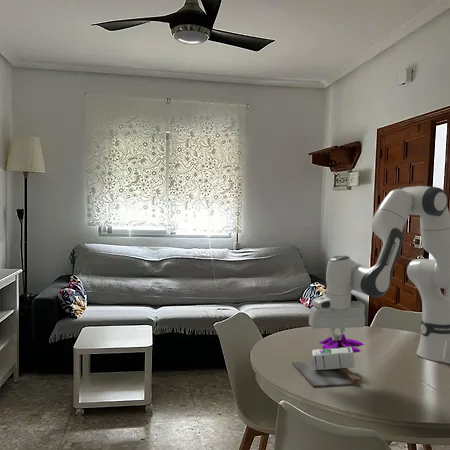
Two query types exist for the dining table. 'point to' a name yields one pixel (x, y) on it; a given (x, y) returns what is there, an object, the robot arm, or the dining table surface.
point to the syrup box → (333, 358)
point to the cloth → (341, 343)
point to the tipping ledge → (326, 375)
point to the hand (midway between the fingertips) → (336, 339)
